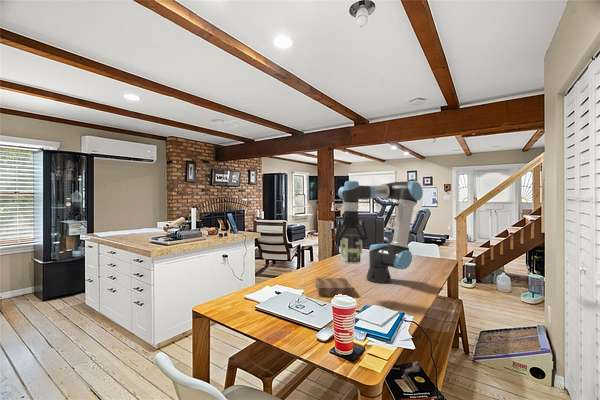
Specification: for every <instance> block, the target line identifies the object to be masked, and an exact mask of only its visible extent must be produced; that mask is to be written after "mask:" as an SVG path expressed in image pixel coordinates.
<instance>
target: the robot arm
mask: <svg viewBox="0 0 600 400" xmlns="http://www.w3.org/2000/svg"><path fill="white" fill-rule="evenodd" d="M337 194H338V197H339V199H341V200H343V209H344V211H343V220H337V227H336V230H335V234H334V237H333V238H334V240H337V246H338V247H339V251H338V252H339V253H340V254H341V253H342V240H341V238H342V235H344V234H346V232H347V230H348V229H354V230H355V231H356V233H357V235H361V251H360V254H363V247H364V246H365V240H368V238H369V237H368V234H367V231H366V227H365V221H364V220H359V202H360V201H359V200H366V201H367V200H372V199H374V198H381V199H382V200H383V199H388V200H396V202H397V203H398V208H397V212H396V213H397V214H396V220H395V225H394V231H393V236H392V241H391V242H390V243H375V244H371V245H369V250H368V252H369V254H368V255H369V265H368V270H367V273H366V280H367V281H369V282H371V283H377V284H388V283H391V281H392V277H391V274H390V270H389V267H390V268H393V269H397V270H406V269H407V268H409V267H410V265H411V264H412V260H413V254H412V251H410V247H409V245H408V243H409V237H410V236H409V235H410V231H411V224H412V218H413V212H414V207H416V205H417V204H418V201H420V200H422V198H423V195H424V194H423V188H422V185H421V184H420V182H418V181H416V180H414V181H413V180H408V181H394V182H389V183H381V184H379V185H360V184H359V181H357V180H346V181H345V182H344V186H340V187H339V189H338V191H337ZM342 225H343V226H344V227H342ZM358 225H360V229H361V230H360V229H359V227H358ZM341 227H342V230H341ZM340 230H341V231H340ZM361 231H362V233H361Z"/></svg>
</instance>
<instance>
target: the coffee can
mask: <svg viewBox="0 0 600 400" xmlns="http://www.w3.org/2000/svg"><path fill="white" fill-rule="evenodd" d="M341 240H342V253H340V263H343V264H350V265H351V264H352V265H356V264H360V263H361V253H360V251H361V235H358V233H357V234H354V233H344V235H342V238H341Z"/></svg>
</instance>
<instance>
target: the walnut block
mask: <svg viewBox="0 0 600 400" xmlns="http://www.w3.org/2000/svg"><path fill="white" fill-rule="evenodd" d="M314 286H315V289H316V291H317V295H318V297H336V296H335V295H338V294H342V295H348V296H347V297H353V286H352V284H351V283H350V282H349V281H348V279H347V278H345V277H340V278H339V277H335V278H334V277H326V278H325V277H315V285H314Z"/></svg>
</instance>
